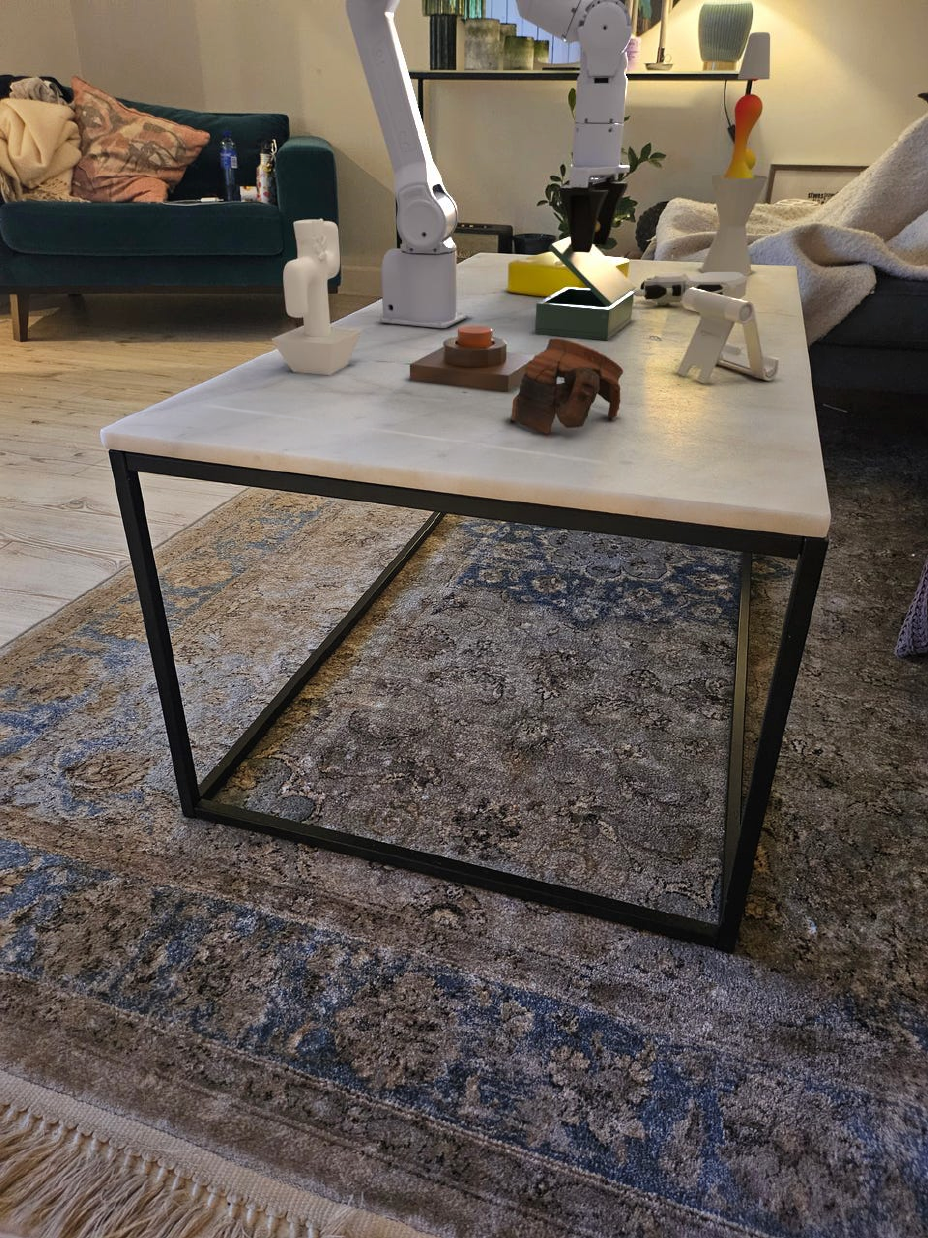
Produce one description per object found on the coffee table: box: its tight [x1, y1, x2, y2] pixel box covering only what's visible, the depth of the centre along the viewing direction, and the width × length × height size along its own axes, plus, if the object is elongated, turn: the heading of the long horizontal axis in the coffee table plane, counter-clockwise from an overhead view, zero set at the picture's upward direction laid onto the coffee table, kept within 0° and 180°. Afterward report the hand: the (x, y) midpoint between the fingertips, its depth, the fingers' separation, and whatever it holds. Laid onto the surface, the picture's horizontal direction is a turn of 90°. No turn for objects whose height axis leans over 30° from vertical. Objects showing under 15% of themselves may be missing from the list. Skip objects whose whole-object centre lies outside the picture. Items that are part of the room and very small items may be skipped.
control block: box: [409, 336, 537, 393], centre depth 93 cm, size 11×9×4 cm
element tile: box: [507, 251, 630, 298], centre depth 137 cm, size 15×15×5 cm
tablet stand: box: [677, 288, 779, 384], centre depth 92 cm, size 9×8×8 cm
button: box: [457, 325, 493, 347], centre depth 92 cm, size 4×4×2 cm
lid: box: [548, 221, 636, 308], centre depth 110 cm, size 10×12×4 cm
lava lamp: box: [700, 31, 771, 275], centre depth 145 cm, size 9×9×35 cm
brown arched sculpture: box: [509, 337, 624, 436], centre depth 78 cm, size 12×10×8 cm
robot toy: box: [633, 272, 751, 306], centre depth 126 cm, size 12×4×15 cm
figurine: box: [270, 218, 363, 376], centre depth 92 cm, size 7×9×15 cm
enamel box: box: [534, 287, 635, 341], centre depth 114 cm, size 9×12×4 cm
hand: (590, 247), depth 110 cm, fingers open, 7 cm apart
